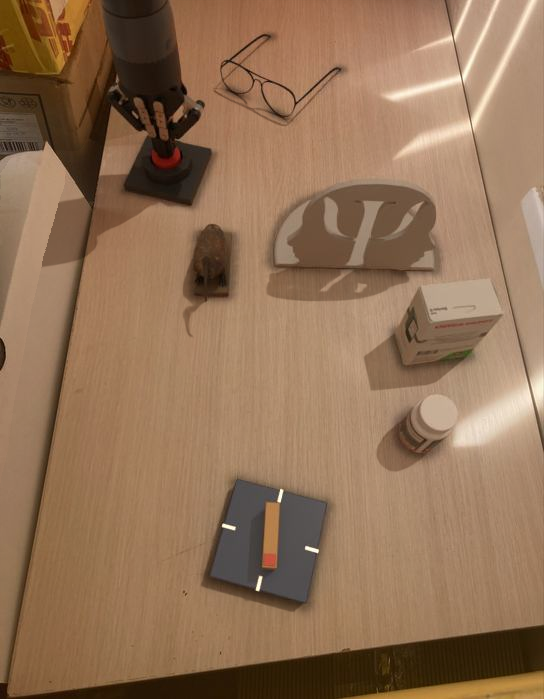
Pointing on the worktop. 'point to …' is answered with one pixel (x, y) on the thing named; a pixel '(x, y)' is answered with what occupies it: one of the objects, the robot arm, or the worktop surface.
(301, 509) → the plate
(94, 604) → the worktop surface
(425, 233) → the psi symbol sculpture
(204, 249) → the figurine
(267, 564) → the orange wooden bar
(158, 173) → the button base
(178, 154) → the button
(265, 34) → the glasses
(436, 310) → the ink box
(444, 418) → the pill bottle
